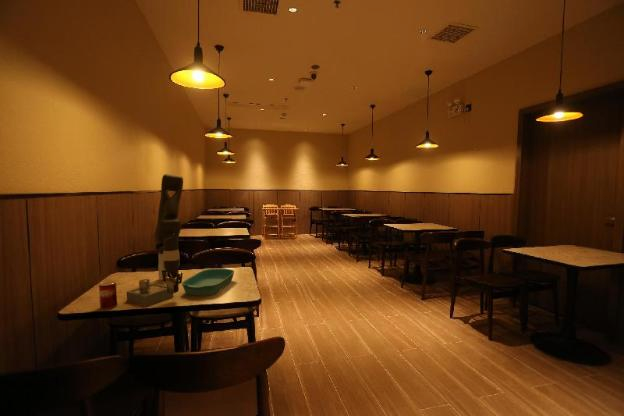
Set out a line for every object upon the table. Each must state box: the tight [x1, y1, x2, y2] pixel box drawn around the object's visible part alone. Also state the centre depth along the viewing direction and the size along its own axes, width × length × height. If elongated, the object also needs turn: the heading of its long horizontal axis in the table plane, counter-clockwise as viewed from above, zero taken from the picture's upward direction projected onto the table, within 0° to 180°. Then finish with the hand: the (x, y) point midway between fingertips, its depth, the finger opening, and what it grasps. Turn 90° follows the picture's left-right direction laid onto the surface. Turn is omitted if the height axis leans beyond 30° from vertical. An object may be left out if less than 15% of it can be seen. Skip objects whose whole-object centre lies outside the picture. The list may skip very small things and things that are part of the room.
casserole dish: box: [181, 267, 235, 297], centre depth 186 cm, size 37×22×7 cm, turn 173°
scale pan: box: [133, 285, 167, 295], centre depth 169 cm, size 12×12×2 cm
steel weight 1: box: [138, 278, 151, 293], centre depth 166 cm, size 5×5×6 cm
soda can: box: [98, 280, 118, 310], centre depth 158 cm, size 7×7×12 cm
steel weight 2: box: [166, 279, 177, 294], centre depth 164 cm, size 5×5×6 cm
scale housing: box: [125, 283, 174, 307], centre depth 169 cm, size 16×16×5 cm
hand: (172, 290), depth 164 cm, fingers closed on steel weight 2, 5 cm apart
